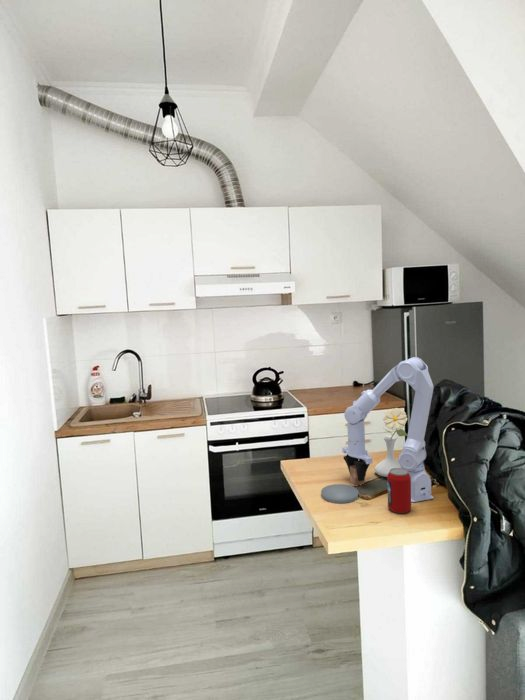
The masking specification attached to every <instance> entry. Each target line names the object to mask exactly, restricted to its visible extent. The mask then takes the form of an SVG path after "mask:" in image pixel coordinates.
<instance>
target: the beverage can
mask: <svg viewBox="0 0 525 700" xmlns="http://www.w3.org/2000/svg"><path fill="white" fill-rule="evenodd" d="M386 478H387V480H386V481H387V482H386V483H387V484H386V485H387V486H386V487H387V508H388V509H389V510H390V511H392V512H394V513H396V514H405V513H408V512H410V511H411V509H412V502H411V477H410V475H409V473H408V471H407V470H406V469H402V468H393V469H390V472H389V473H388V475H387V477H386Z"/></svg>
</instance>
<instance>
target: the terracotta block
mask: <svg viewBox="0 0 525 700" xmlns="http://www.w3.org/2000/svg"><path fill="white" fill-rule="evenodd" d="M349 475H350V476H349V478H350V484H352V486H353V487H354V486H355V487H357V486H356V485H360V484H363V483H365V482H366V481H365V479H364V480H363V481H358V476H357V469H356V466H355V465H352V466H350V473H349ZM365 484H366V483H365ZM360 486H361V485H360Z"/></svg>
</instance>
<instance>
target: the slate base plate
mask: <svg viewBox="0 0 525 700" xmlns="http://www.w3.org/2000/svg"><path fill="white" fill-rule="evenodd" d="M320 493H321V498H322V499H323V500H324V501H326V502H328V503H332V504H349V503H353V502H355V500H356V501H357V500H358V499H359V497H358V494H359V489H357V487H356V486H355V487H354V485H349V484H342V483H337V484H336V483H335V484H334V483H333V484H330V485H326V486H324V487H322V488H321V490H320ZM359 495H360V494H359Z"/></svg>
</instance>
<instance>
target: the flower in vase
mask: <svg viewBox="0 0 525 700" xmlns="http://www.w3.org/2000/svg"><path fill="white" fill-rule="evenodd" d="M407 416H408V415H407V413H406V412H405V411H404V410H402V409H400V408H398V407H395V408H391V409H389V410H387V411H386V412H385V414H384V416H383V419H382V420H383V421H384V426H385V427H387V428H388V429H391V430H393V431H394V433H392V432H391V430H388V429H386V428H384V430H385V432H387V433H389V434H391V435H384V436H382V439H383V440H384V442H385V445H386V457H385V458H384V459H383V460H382V461H379V463H377V464H376V465H375V467H374V472H375V473H376V474H377V475H378V476H380V477H385V478H387V475H388V473H389V472H390V469H393V468H401V466H400V464H399V462H398V459H397V458H395V455H394V454H395V453H394V452H395V451H394V450H395V449H394V447H395V443H396V441H397V439H398V437H407V436H408V433H406V431H405V430H404V429H402V428H404V427H405V425H406V423H407V421H408V417H407ZM395 434H397V435H398V436H396V435H395Z"/></svg>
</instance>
